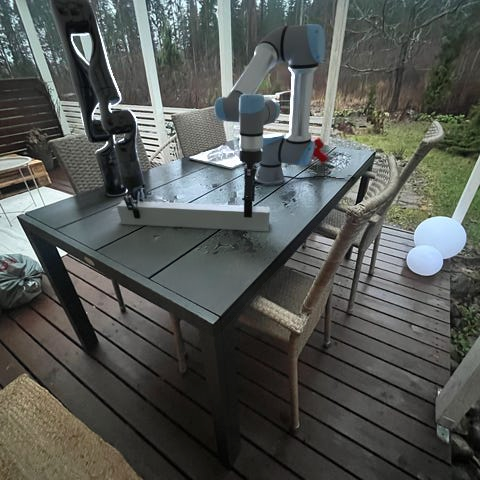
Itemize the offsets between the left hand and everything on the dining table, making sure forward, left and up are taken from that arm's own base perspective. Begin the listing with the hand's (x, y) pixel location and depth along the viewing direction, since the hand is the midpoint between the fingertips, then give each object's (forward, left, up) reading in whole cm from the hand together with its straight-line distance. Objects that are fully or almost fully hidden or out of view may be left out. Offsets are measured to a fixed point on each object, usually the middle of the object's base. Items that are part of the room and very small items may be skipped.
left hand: (140, 214), depth 105 cm
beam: (+14, +16, -3) cm, 22 cm away
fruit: (-42, +139, -3) cm, 145 cm away
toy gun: (-14, +112, -3) cm, 113 cm away
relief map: (-53, +72, -3) cm, 90 cm away
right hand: (+29, +31, +5) cm, 43 cm away
